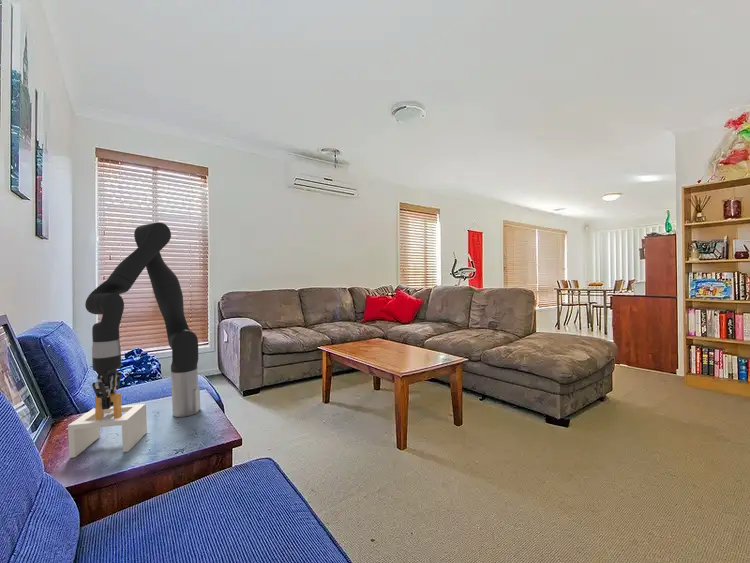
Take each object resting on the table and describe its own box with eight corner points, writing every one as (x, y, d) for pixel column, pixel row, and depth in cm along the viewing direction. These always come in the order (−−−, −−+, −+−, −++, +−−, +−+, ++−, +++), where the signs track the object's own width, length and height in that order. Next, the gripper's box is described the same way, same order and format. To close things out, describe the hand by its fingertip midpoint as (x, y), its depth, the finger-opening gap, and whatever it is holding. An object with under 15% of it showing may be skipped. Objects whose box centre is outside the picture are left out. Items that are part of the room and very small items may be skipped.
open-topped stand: (147, 431, 127) (145, 403, 127) (128, 451, 113) (126, 419, 113) (95, 437, 124) (93, 408, 123) (69, 457, 110) (67, 425, 110)
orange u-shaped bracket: (121, 416, 120) (120, 392, 120) (118, 419, 118) (117, 395, 117) (99, 418, 119) (98, 394, 118) (95, 421, 116) (94, 397, 116)
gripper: (108, 358, 111) (110, 414, 112) (129, 349, 125) (131, 398, 126) (80, 360, 110) (82, 416, 111) (105, 350, 124) (107, 400, 124)
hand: (108, 406), depth 118 cm, fingers closed on orange u-shaped bracket, 2 cm apart
